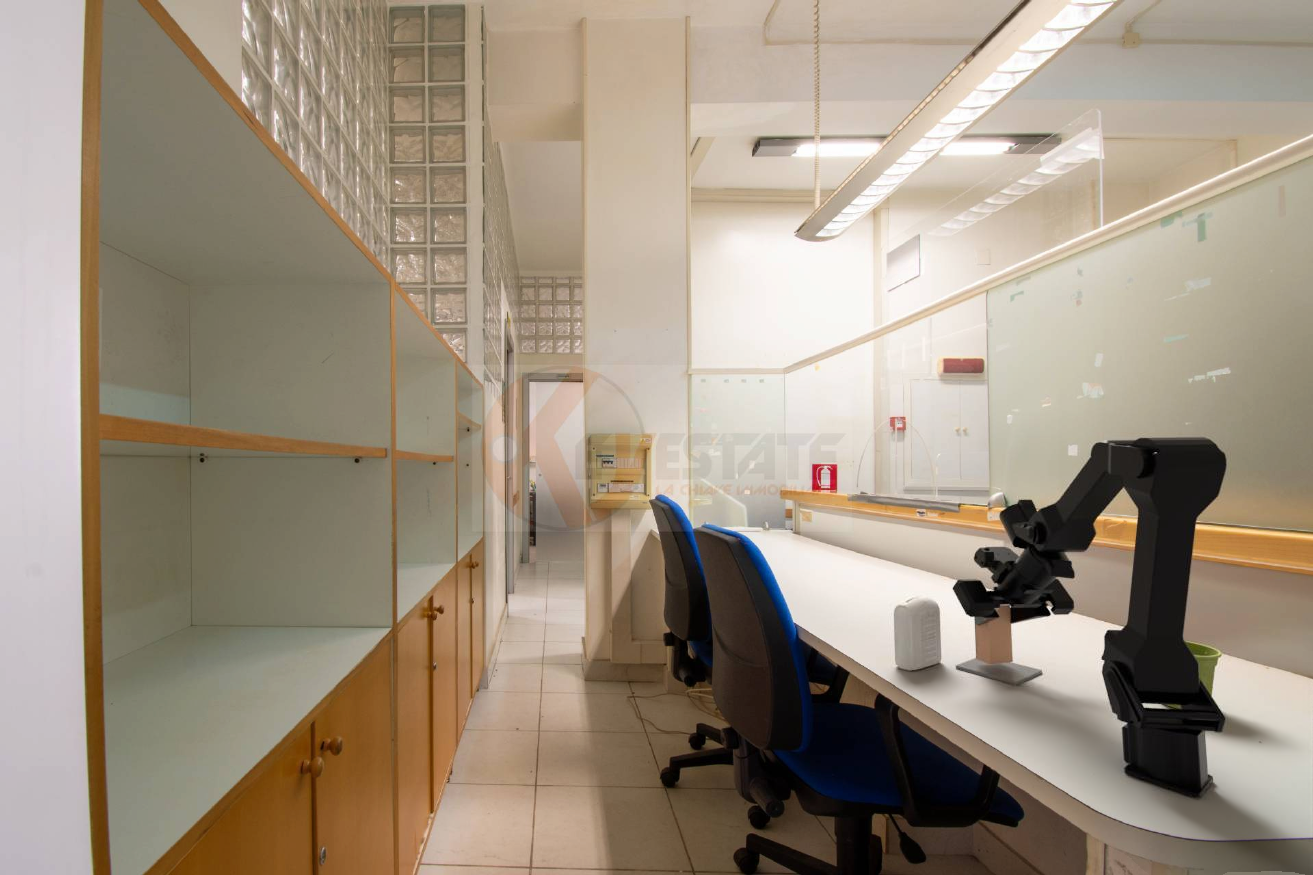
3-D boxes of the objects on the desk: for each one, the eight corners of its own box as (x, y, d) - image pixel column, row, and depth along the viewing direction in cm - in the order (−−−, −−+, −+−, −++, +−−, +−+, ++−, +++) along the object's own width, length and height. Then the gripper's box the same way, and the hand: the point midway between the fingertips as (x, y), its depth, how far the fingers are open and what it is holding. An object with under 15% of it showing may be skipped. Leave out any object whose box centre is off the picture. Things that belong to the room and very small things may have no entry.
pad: (1042, 672, 99) (1041, 669, 99) (1016, 685, 93) (1016, 682, 93) (982, 657, 107) (982, 655, 107) (955, 668, 101) (955, 665, 101)
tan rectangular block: (1012, 661, 100) (1009, 593, 101) (990, 664, 99) (987, 595, 99) (998, 656, 103) (995, 590, 104) (976, 659, 102) (973, 591, 102)
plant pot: (1197, 721, 79) (1193, 658, 80) (1126, 696, 88) (1122, 639, 89) (1242, 713, 82) (1238, 652, 82) (1168, 689, 91) (1165, 635, 91)
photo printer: (923, 656, 108) (921, 591, 109) (945, 662, 104) (942, 595, 105) (891, 666, 102) (889, 598, 103) (913, 673, 99) (910, 602, 99)
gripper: (1057, 532, 98) (1015, 583, 109) (956, 533, 97) (923, 585, 107) (1098, 586, 90) (1049, 636, 100) (989, 588, 88) (950, 639, 99)
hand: (991, 622), depth 102 cm, fingers closed on tan rectangular block, 5 cm apart
